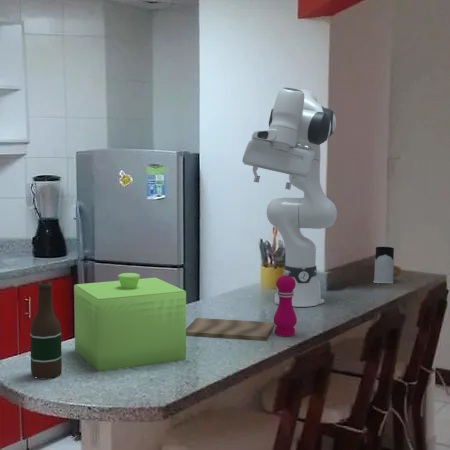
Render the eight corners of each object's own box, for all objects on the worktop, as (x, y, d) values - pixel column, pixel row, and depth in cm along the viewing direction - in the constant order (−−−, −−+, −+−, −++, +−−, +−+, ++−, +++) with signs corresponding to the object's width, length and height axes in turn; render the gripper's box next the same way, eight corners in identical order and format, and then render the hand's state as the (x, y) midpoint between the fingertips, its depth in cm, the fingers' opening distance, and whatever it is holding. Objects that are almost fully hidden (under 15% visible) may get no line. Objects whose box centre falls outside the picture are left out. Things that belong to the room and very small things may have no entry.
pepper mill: (295, 337, 228) (296, 273, 226) (271, 336, 230) (272, 272, 227) (297, 331, 235) (299, 269, 233) (274, 330, 237) (276, 268, 234)
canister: (98, 372, 194) (97, 284, 191) (74, 350, 213) (73, 271, 210) (185, 359, 205) (186, 277, 203) (156, 340, 224) (156, 264, 221)
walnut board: (183, 335, 230) (183, 331, 229) (196, 321, 247) (196, 317, 247) (266, 340, 225) (266, 336, 224) (274, 325, 242) (274, 322, 242)
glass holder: (373, 284, 312) (374, 249, 310) (372, 278, 326) (373, 244, 324) (394, 285, 311) (396, 249, 309) (392, 279, 325) (394, 245, 323)
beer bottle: (33, 370, 194) (31, 279, 191) (63, 369, 195) (62, 279, 192) (28, 380, 187) (26, 285, 184) (59, 379, 187) (58, 285, 184)
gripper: (314, 150, 223) (305, 194, 221) (247, 135, 223) (237, 179, 221) (317, 145, 217) (308, 191, 215) (249, 130, 216) (239, 175, 215)
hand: (271, 185), depth 218 cm, fingers open, 8 cm apart
